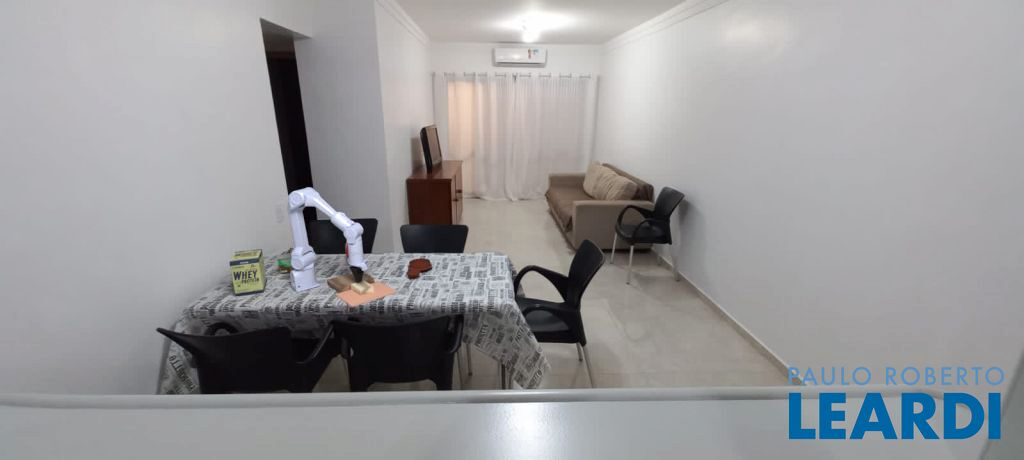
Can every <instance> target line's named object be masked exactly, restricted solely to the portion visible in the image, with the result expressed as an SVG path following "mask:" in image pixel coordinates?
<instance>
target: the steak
mask: <svg viewBox="0 0 1024 460" xmlns="http://www.w3.org/2000/svg"><path fill="white" fill-rule="evenodd" d="M408 264H409V265H407V269H408V270H407V271H406V275H407V277H409V279H410V280H416V279H417V278H418V276H419V275H420V274H421V273H422V271H423V272H425V270H428V269H431V268H432V266H433V264H432V263H431V260H430V259H428V258H424V257H423V258H420V257H419V258H414V259H411V260H409V262H408Z"/></svg>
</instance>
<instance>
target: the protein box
mask: <svg viewBox="0 0 1024 460" xmlns="http://www.w3.org/2000/svg"><path fill="white" fill-rule="evenodd" d="M228 263H229V266H230V274H231V279H232V284H233V289H234V294H235V297H243V296H249V295H257V294H262V293H265V289H266V287H267V286H266V285H267V281H268V279H267V273H266V267H265V262H264V254H263V249H262V248H259V249H250V250H241V251H235V252H234V253H233V255H232V257H231V259H230V260H229V262H228Z"/></svg>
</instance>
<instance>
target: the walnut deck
mask: <svg viewBox="0 0 1024 460" xmlns="http://www.w3.org/2000/svg"><path fill="white" fill-rule="evenodd" d="M362 281H366V282H367V283H369V284H372V283H375V277H374V276H372V275H370V274H368V273H366V272H364V273H363V277H362ZM353 283H356V281H355V278H354V275H353V273H352V272H350V273H348V274H343V275H340V276H336V277H335V276H334V277H332V278H331V277H330V278H329V279H326V284H327V286H328V287H330V288H332V290H334V291H335V292H337V294H338V293H341V292H344V291H348V290H351V284H353Z"/></svg>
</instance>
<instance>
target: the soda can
mask: <svg viewBox="0 0 1024 460" xmlns="http://www.w3.org/2000/svg"><path fill="white" fill-rule="evenodd" d="M344 249H345V257H346V259H345V260H346V264H348V265H349V266H351V265H350V264H349V263H348V260H347V258H349V251H348V242H347V240H346V243H345V244H344Z"/></svg>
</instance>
